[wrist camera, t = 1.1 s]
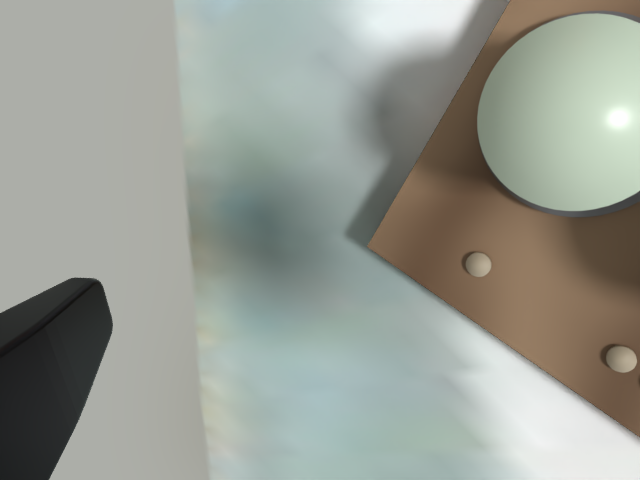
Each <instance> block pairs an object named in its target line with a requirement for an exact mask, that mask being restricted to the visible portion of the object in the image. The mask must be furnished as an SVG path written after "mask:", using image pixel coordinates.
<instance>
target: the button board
mask: <svg viewBox="0 0 640 480" xmlns="http://www.w3.org/2000/svg"><path fill="white" fill-rule="evenodd" d="M596 13H598V14H609V15H615V16H619V17H624V18H627V19H630V20H632V21H635V22H638V23H640V0H510V2H509V4H508V5H507V7H506V9H505V11H504V12H503V14H502V16H501V17H500V19H499V21H498V23H497V24H496V26H495V28H494V29H493V31H492V33H491V35H490V36H489V38H488V40H487V41H486V43H485V45H484V47H483V48H482V50H481V52H480V53H479V55H478V57H477V59H476V60H475V62H474V64H473V66H472V67H471V69H470V71H469V72H468V74H467V76H466V78H465V79H464V81H463V83H462V84H461V86H460V88H459V90H458V91H457V93H456V95H455V96H454V98H453V100H452V102H451V103H450V105H449V107H448V108H447V110H446V112H445V114H444V115H443V117H442V119H441V120H440V122H439V124H438V126H437V127H436V129H435V131H434V132H433V134H432V136H431V138H430V139H429V141H428V143H427V144H426V146H425V148H424V150H423V151H422V153H421V155H420V157H419V158H418V160H417V162H416V163H415V165H414V167H413V169H412V170H411V172H410V174H409V175H408V177H407V179H406V181H405V182H404V184H403V186H402V187H401V189H400V191H399V193H398V194H397V196H396V198H395V199H394V201H393V203H392V205H391V206H390V208H389V210H388V211H387V213H386V215H385V217H384V218H383V220H382V222H381V223H380V225H379V227H378V229H377V230H376V232H375V234H374V235H373V237H372V239H371V241H370V242H369V244H368V246H367V247H368V248H370V249H371V250H372V251H374V252H375V253H377V254H378V255H380V256H381V257H382V258H384V259H385V260H387V261H388V262H390V263H391V264H392V265H394V266H395V267H397V268H398V269H400V270H401V271H402V272H404V273H405V274H407V275H408V276H410V277H411V278H413V279H414V280H415V281H417V282H418V283H420V284H421V285H423V286H424V287H425V288H427V289H428V290H430V291H431V292H433V293H434V294H435V295H437V296H438V297H440V298H441V299H443V300H444V301H445V302H447V303H448V304H450V305H451V306H453V307H454V308H455V309H457V310H458V311H460V312H461V313H463V314H464V315H466V316H467V317H468V318H470V319H471V320H473V321H474V322H476V323H477V324H478V325H480V326H481V327H483V328H484V329H486V330H487V331H488V332H490V333H491V334H493V335H494V336H496V337H497V338H498V339H500V340H501V341H503V342H504V343H506V344H507V345H508V346H510V347H511V348H513V349H514V350H516V351H517V352H519V353H520V354H521V355H523V356H524V357H526V358H527V359H529V360H530V361H531V362H533V363H534V364H536V365H537V366H539V367H540V368H541V369H543V370H544V371H546V372H547V373H549V374H550V375H551V376H553V377H554V378H556V379H557V380H559V381H560V382H561V383H563V384H564V385H566V386H567V387H569V388H570V389H571V390H573V391H574V392H576V393H577V394H579V395H580V396H582V397H583V398H584V399H586V400H587V401H589V402H590V403H592V404H593V405H594V406H596V407H597V408H599V409H600V410H602V411H603V412H604V413H606V414H607V415H609V416H610V417H612V418H613V419H614V420H616V421H617V422H619V423H620V424H622V425H623V426H624V427H626V428H627V429H629V430H630V431H632V432H633V433H635V434H636V435H637V436H639V437H640V191H639V192H637V193H636V194H634V195H632V196H630V197H628V198H626V199H624V200H622V201H620V202H617V203H615V204H612V205H609V206H605V207H601V208H597V209H592V210H584V211H563V210H554V209H550V208H546V207H542V206H539V205H536V204H534V203H531V202H529V201H527V200H525V199H523V198H521V197H519V196H518V195H516V194H515V193H514V192H512V191H511V190H509V189H508V188H507V187H506V186H505V185H504V184H503V183H502V182H501V181H500V180H499V179H498V178H497V176H496V175H495V174H494V173H493V171H492V170H491V168H490V167H489V165H488V163H487V161H486V159H485V157H484V155H483V152H482V149H481V146H480V142H479V137H478V130H477V115H478V106H479V102H480V98H481V94H482V91H483V88H484V86H485V83H486V81H487V79H488V77H489V75H490V73H491V71H492V70H493V68H494V67H495V65H496V64H497V62H498V61H499V60H500V59H501V57H502V56H503V55H504V54H505V53H506V52H507V50H508V49H510V48H511V47H512V46H513V45H514V44H515V43H516V42H517V41H518V40H520V39H521V38H523V37H524V36H525V35H527V34H528V33H530V32H531V31H533V30H535V29H537V28H538V27H540V26H542V25H545V24H547V23H549V22H552V21H554V20H557V19H561V18H564V17H568V16H573V15H580V14H596Z"/></svg>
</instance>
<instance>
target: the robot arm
mask: <svg viewBox="0 0 640 480" xmlns="http://www.w3.org/2000/svg"><path fill="white" fill-rule="evenodd" d="M112 327H113V323H112V317H111V313H110V310H109V306H108V303H107V299H106V296H105V292H104V288H103V286H102V284H101V282H100V281H98V280H97V279H93V278H71V279H68V280H66V281H64V282H62V283H60V284H58V285H56V286H54V287H52V288H50V289H48V290H46V291H44V292H42V293H40V294H38V295H36V296H34V297H32V298H30V299H28V300H26V301H24V302H22V303H20V304H18V305H16V306H14V307H12V308H10V309H8V310H6V311H4V312H2V313H0V480H49V478H50V476H51V474H52V472H53V471H54V469H55V467H56V464H57V463H58V461H59V459H60V457H61V455H62V453H63V451H64V449H65V447H66V445H67V443H68V441H69V439H70V437H71V435H72V433H73V431H74V429H75V427H76V424H77V422H78V420H79V418H80V416H81V413H82V410H83V408H84V406H85V403H86V400H87V398H88V395H89V393H90V390H91V387H92V385H93V382H94V379H95V377H96V374H97V371H98V369H99V366H100V363H101V361H102V358H103V355H104V352H105V350H106V347H107V345H108V342H109V340H110V336H111V334H112Z"/></svg>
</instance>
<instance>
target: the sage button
mask: <svg viewBox="0 0 640 480" xmlns="http://www.w3.org/2000/svg"><path fill="white" fill-rule="evenodd" d="M477 130H478V137H479V142H480V146H481V149H482V152H483V155H484V157H485V159H486V161H487V163H488V165H489V167H490V168H491V170H492V171H493V173H494V174H495V175H496V176H497V178H498V179H499V180H500V181H501V182H502V183H503V184H504V185H505V186H506V187H507V188H508V189H509V190H511V191H512V192H514V193H515V194H516V195H518V196H519V197H521V198H523V199H525V200H527V201H529V202H531V203H534V204H536V205H539V206H542V207H546V208H550V209H554V210H563V211H584V210H592V209H597V208H601V207H605V206H609V205H612V204H615V203H617V202H620V201H622V200H624V199H626V198H628V197H630V196H632V195H634V194H636V193H637V192H639V191H640V23H638V22H635V21H632V20H630V19H627V18H624V17H619V16H615V15H609V14H598V13H596V14H580V15H573V16H568V17H564V18H561V19H557V20H554V21H552V22H549V23H547V24H545V25H542V26H540V27H538V28H537V29H535V30H533V31H531V32H530V33H528V34H527V35H525V36H524V37H523V38H521V39H520V40H518V41H517V42H516V43H515V44H514V45H513V46H512V47H511V48H510V49H508V50H507V52H506V53H505V54H504V55H503V56H502V57H501V59H500V60H499V61H498V62H497V64H496V65H495V67H494V68H493V70H492V71H491V73H490V75H489V77H488V79H487V81H486V83H485V86H484V88H483V91H482V94H481V98H480V102H479V106H478V115H477Z"/></svg>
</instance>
